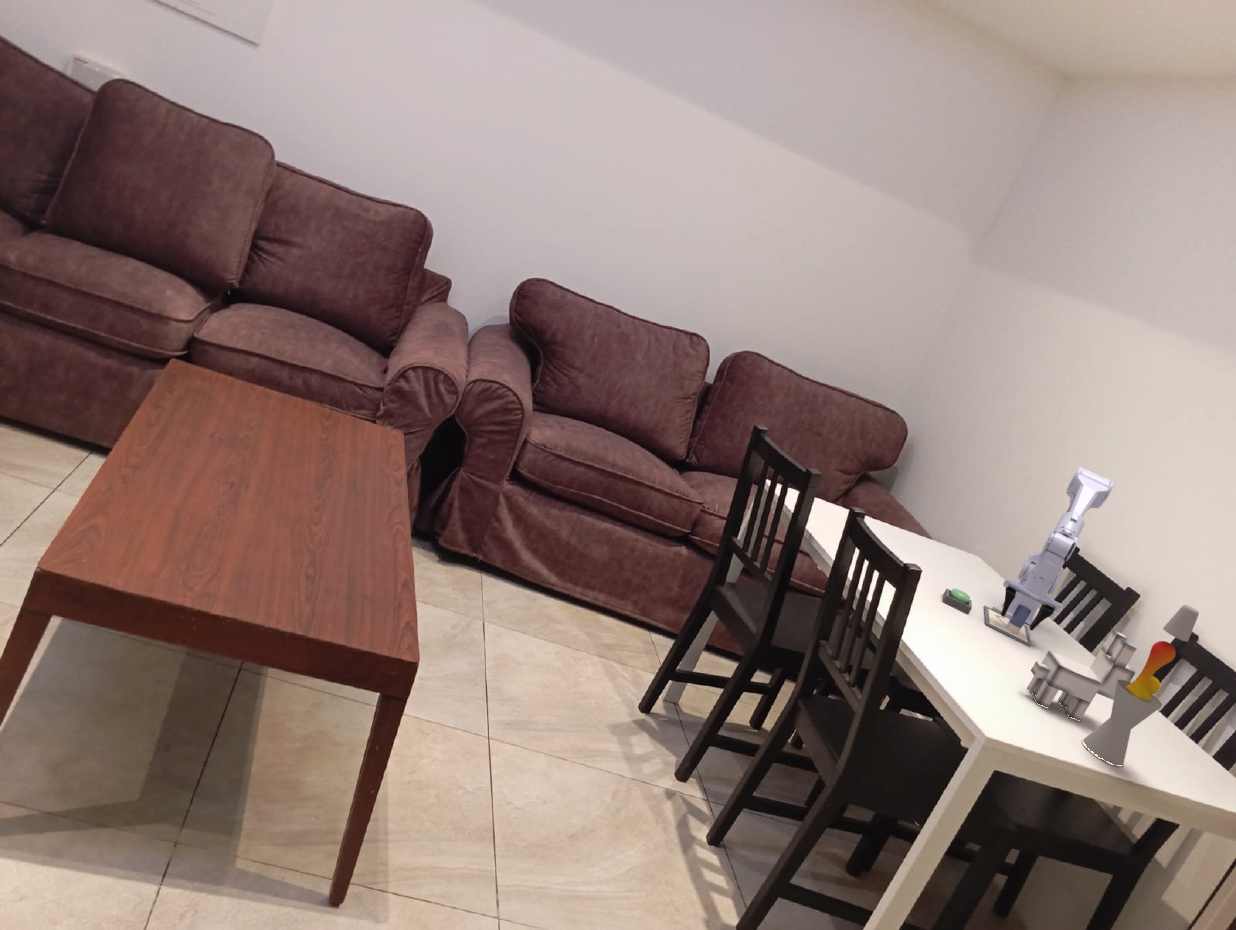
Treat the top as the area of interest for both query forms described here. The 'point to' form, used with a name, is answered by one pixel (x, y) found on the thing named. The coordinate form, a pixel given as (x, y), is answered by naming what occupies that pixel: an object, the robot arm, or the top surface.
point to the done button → (960, 596)
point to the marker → (1018, 619)
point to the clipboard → (1004, 625)
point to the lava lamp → (1138, 694)
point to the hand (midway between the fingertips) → (1016, 622)
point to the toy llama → (1082, 676)
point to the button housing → (956, 602)
